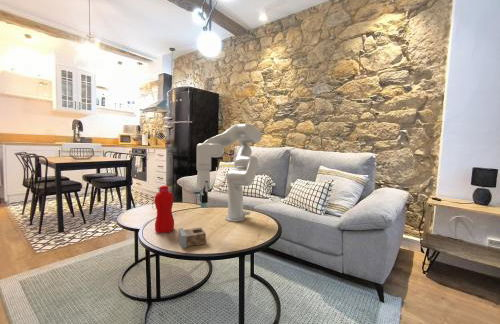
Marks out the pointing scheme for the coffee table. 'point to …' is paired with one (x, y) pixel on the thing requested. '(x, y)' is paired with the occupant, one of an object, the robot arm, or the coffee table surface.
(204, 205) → the dowel
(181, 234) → the wall
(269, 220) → the coffee table surface
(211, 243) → the coffee table surface
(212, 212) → the coffee table surface
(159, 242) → the coffee table surface
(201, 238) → the block
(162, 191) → the water bottle
